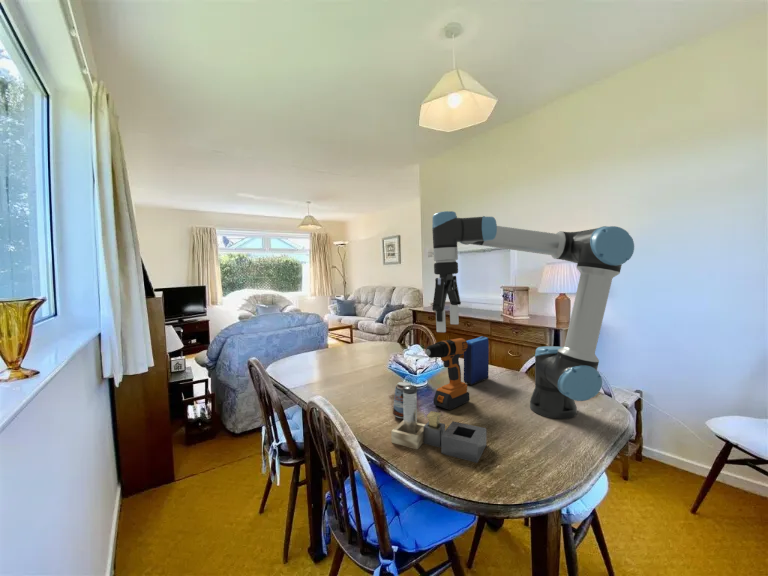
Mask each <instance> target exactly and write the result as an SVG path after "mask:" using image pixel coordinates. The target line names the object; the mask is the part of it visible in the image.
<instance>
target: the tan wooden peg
mask: <svg viewBox="0 0 768 576" xmlns="http://www.w3.org/2000/svg"><path fill="white" fill-rule="evenodd" d="M441 417H442V412H437V411H432V410H430V411H429V412H428V413H427V415H426V418H427V419H428V421H429V427H432V428H437V429H438V428H439V427H440V423H441V422H440V418H441Z"/></svg>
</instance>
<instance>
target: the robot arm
mask: <svg viewBox="0 0 768 576" xmlns="http://www.w3.org/2000/svg"><path fill="white" fill-rule="evenodd" d="M431 230H432V244H433V245H432V246H433V251H432V253H431V254H432V255H433V260H434V264H433V271H434V272H433V273H434V274H435V275H439V277H435V280H434V281H435V285H434V294H433V302H432V303H433V304H432V311H433V312H434V311H435V324H436V325H435V326H436V332H437V333H446V332H447V325H446V310H445V305H446V300H447V297H448V300H449V303H450V304H449V319H450V320H449V321H450V322H449V324H450V325H459V324H460V322H459V321H460V319H459V317H460V316H459V306H460V305H461V303H462V302H461V298H460V294H459V287H458V282H457V281H458V280H457V275H456V274H458V273H459V263H458V259H459V253H458V243H460V244H462V245H473V246H474V245H475V246H480V247H481V246H483V247H490V248H495V249H496V248H498V249H504V250H510V251H511V250H512V251H518V252H526V253H533V254H540V255H546V256H547V255H548V256H551V257H552V259H555V260H562V261H565V262H566V261H567V262H570V263H574V264H576V269H577V270H578V271H579V272H580V276H579V278H578V279H579V280H578V284H577V288H576V292H575V297H574V301H573V307H572V310H571V315H570V318H569V319H570V320H569V323H568V328H567V333H566V337H565V341H564V346H553V345H551V346H550V345H549V346H548V345H547V346H538V347H537V348H536V349H535V354H534V360H535V361H534V364H535V365H534V366H535V367H534V368H535V370H534V375H535V377H534V378H535V380H534V381H535V383H534V384H535V385H534V389H533V390H532V391H533V392H532V394H531V396H530V400H529V408H530V410H531V411H532V412H534V413H536V414H537V415H540V416H543V417H545V418H546V417H547V418H551V419H559V420H560V419H561V420H562V419H563V420H564V419H572V418H575V416H577V412H578V411H577V405H576V401H577V402H585V401H589V400H590V399H591V398H594V397H596V396H597V395H599V392H600V391H601V390H602V387H603V378H602V376H601V373H600V372H599V371H598V367H599V363H600V359H599V358H598V357H597V355H596V351H597V346H598V341H599V337H600V334H601V333H600V332H601V328H602V324H603V321H604V316H605V312H606V307H607V303H608V299H609V294H610V290H611V287H612V282H613V278H615V277H616V276H618V275H620V274H621V271H622V266H623V264H626V262H627V261H629V260H630V259H631V258H632V257H633V254H634V251H635V243H634V239H633V237H632V236H631V235H630V233H629V231H627V230H626V229H624V228H622V227H619V226H613V225H612V226H611V225H610V226H607V225H605V226H600V227H596V228H592V229H590V228H589V229H586V230H579V231H557V232H556V233H555V232H547V231H546V232H545V231H539V230H531V229H524V228H518V227H517V228H516V227H507V226H501V225H497V221H496V219H495V217H494V216H484V215H482V216H474V217H472V216H471V217H458V216H457V213H456V212H455V211H453V210H452V211H450V210H449V211H448V210H447V211H439V212H436V213H434V214H433V215H432V229H431Z"/></svg>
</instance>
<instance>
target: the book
mask: <svg viewBox="0 0 768 576" xmlns="http://www.w3.org/2000/svg"><path fill="white" fill-rule="evenodd" d="M466 342H467V344H468V348H467V350H466V351H464V353H463V383H465V384H466V385H470V386H472V385H476V384H479V383H480V382H482V381H485V380H487V379H489V378H490V375H489V371H490V370H489V347H490V345H489V344H490V343H489V337H486V336H483V335H482V336H479V337H476V338H472V339H468V340H466Z"/></svg>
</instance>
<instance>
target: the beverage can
mask: <svg viewBox="0 0 768 576" xmlns="http://www.w3.org/2000/svg"><path fill="white" fill-rule="evenodd" d="M406 385H412V383H409V382H405V381H399V382H397V384H396V386H395V389H394V398H393V406H392V407H393V410H392V414H393V415H394V416H395V417H396V418H398V419H404V410H403V387H404V386H406Z"/></svg>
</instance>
